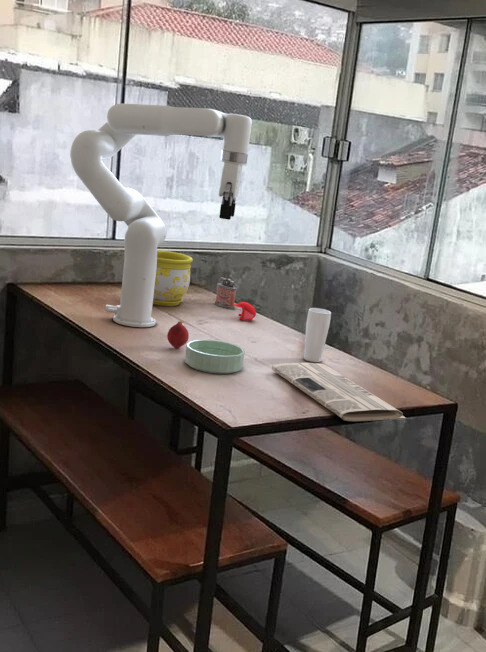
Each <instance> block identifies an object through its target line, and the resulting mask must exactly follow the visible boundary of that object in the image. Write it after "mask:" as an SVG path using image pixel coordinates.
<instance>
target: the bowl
mask: <svg viewBox="0 0 486 652" xmlns="http://www.w3.org/2000/svg"><path fill="white" fill-rule="evenodd" d="M245 353H246V351H245V349H244V348H243V347H241V346H239V345H237V344H235V343H232V342H227V341H223V340H216V339H215V340H214V339H195V340H191V341H189V342H188V341H187V343H186V347H185V356H184V362H185V364H187V365H188V366H189V367H190V368H192V369H195V370H197V371H200V372H204V373H210V374H216V375H217V374H220V375H221V374H222V375H224V374H226V375H228V374H234V373H237V372H239V371H241V370H242V369H243V367H244V360H245V355H246V354H245Z"/></svg>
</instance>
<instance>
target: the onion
mask: <svg viewBox="0 0 486 652" xmlns="http://www.w3.org/2000/svg"><path fill="white" fill-rule="evenodd" d="M167 331H168V332H167V335H166V337H167V341H168V343H169V345H171V346H172V347H173V348H174V349H177V350H178V349H180V348H182V347H183V346H185V345H187V343H188V341H189V337H190V336H189V335H190V333H189V331H188V329H187V327H186V326H185V325H184V324H183V321H182V320H179V321H178V322H177V323H175V324H174V325H172V326H171V327H170V328H169V329H168V330H167Z"/></svg>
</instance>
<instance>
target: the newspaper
mask: <svg viewBox="0 0 486 652" xmlns="http://www.w3.org/2000/svg"><path fill="white" fill-rule="evenodd" d="M271 370H272V371H273V372H275V373H276V374H277V375H279V376H280V377H282V378H283V379H284V380H286V381H288V382H289V383H290V384H292V385H293V386H294V387H296V388H298V389H299V390H300V391H301V392H303V393H304V394H306V395H307V396H308V397H310V398H312V399H313V400H314V401H316V402H317V403H319V404H320V405H321V406H323V407H324V408H326V409H327V410H328V411H330V412H331V413H332V414H334V415H336V416H337V417H338V418H340V419H341V420H343V421H347V422H368V421H369V422H371V421H390V420H391V421H393V420H399V419H407V417H405V416H404V415H403V414H404V412H402V411H401V410H399V409H397V408H395V407H394V406H392V405H391V404H389V403H388V402H387V401H385V400H382V398H379V397H378V396H377V395H375V394H373V393H372V392H369V391H368V390H366V389H365V388H363V387H362V386H361V385H358V384H357V383H356V382H354V381H352V380H350V379H349V378H348V377H345V376H344V375H343V374H341V373H339V372H337V371H336V370H334V369H333V368H331V367H329V366H328V365H326V364H324V363H318V362H286V363H285V362H284V363H276V364H273V365H272V366H271Z"/></svg>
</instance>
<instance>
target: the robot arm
mask: <svg viewBox="0 0 486 652" xmlns="http://www.w3.org/2000/svg"><path fill="white" fill-rule="evenodd" d="M252 125H253V120H252V118H251V117H250V116H248V115H244V114H238V113H226V112H222V111H220V110H217V109H214V108H206V107H186V106H185V107H182V106H181V107H180V106H170V105H166V104H164V105H163V104H145V103H144V104H143V103H116V104H114V105H112V106H110V108H109V109H108V111H107V113H106V122H105V123H104V124H103V125H102V126H101V127H99V128H98V129H87V130H84V131H81V132H80V133H79V134H77V135H76V136H75V137H74V139H73V140H72V144H71V146H70V152H69V157H70V163H71V166H72V169H73V172H75V175H76V176H77V177H78V178H79V180H80V181H81V183H82V184H83V185H84V186H85V187H86V189H87V190H88V191H89V192H90V194H91V195H92V197H93V198H94V199H95V200H96V202H97V203H98V204H99V205H100V206H101V208H102V209H103V210H104V211H105V213H106V214H107V215H108V217H109V218H110V219H112V220H113V221H115V222H124V223H125V224H126V226H127V227H126V230H125V233H124V258H123V271H122V280H121V289H120V291H121V292H120V300H119V305H118V304H117V305H112V304H105V308H104V310H105V312H107V313H109V314H110V313H111V314H112V313H113V314H114V315H113V317H112V319H113V322H114V323H116V324H119V325H122V326H125V327H133V328H150V327H154V326H156V324H157V320H156V319H155V318H154V317H153V316H152V313H153V305H154V304H153V296H154V287H155V278H156V267H157V250H158V247H159V246H161V245H162V244H163V243H164V242H165V240H166V239H167V233H168V232H167V227H166V225H165V223H164V221H163V220H162V218H161V217H160V216H159V215H158V213H157V212H156V211H155V210H154V208H153V207H152V206H151V204H150V203H149V202H148V201H147V199H145V197H144V196H143V195H142V194H141V193H140V192H138V191H137V190H136V189H133V188H131V187H125V186H124V185H123V184H122V183H121V182H120V181H119V179H117V177H116V176H115V175H114V173H113V172H112V171H111V170H110V169H109V168H108V167H107V166H106V165H105V163H104V161H105V160H108V159H111V158H112V157H113V156H115V155H116V154H117V153H118V152H119V151H120V150H122V149H123V148H124V147H125V146H126V145H127V144H128V143H129V142H130V141H132V139H133V138H135V136H138V135H139V136H154V137H155V136H157V137H169V136H175V135H176V136H197V137H198V136H199V137H210V138H211V137H213V138H220V137H221V138H223V139H222V147H221V154H220V162H221V163H223V164H222V170H221V175H220V183H219V188H218V193H217V194H218V197H219V198H221V197H222V198H221V199H222V200H221V203H220V209H219V215H218V217H219V218H218V219H221V220H227V221H229V220H231V219H232V217H233V218H234V216H235V212H236V205H237V204H236V200H237V199H236V198H238V195H239V191H240V185H241V179H242V172H243V166H247V165H248V157H249V156H248V155H249V147H250V140H251V133H252Z"/></svg>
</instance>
